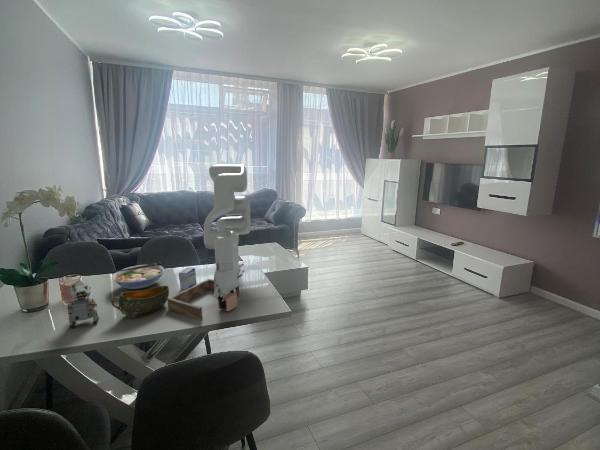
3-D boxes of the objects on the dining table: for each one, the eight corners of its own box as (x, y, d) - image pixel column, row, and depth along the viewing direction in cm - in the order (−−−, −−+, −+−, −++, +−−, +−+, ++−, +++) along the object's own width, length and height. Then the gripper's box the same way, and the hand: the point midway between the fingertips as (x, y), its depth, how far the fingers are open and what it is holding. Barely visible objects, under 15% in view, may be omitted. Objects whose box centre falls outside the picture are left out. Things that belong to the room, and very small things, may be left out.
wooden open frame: (209, 288, 155) (208, 278, 154) (239, 295, 147) (238, 285, 146) (168, 309, 134) (167, 298, 133) (200, 320, 126) (199, 308, 125)
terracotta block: (227, 302, 138) (226, 291, 137) (237, 305, 136) (236, 293, 134) (218, 308, 133) (217, 296, 132) (228, 311, 131) (227, 299, 130)
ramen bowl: (111, 301, 142) (109, 284, 140) (111, 283, 161) (109, 268, 159) (171, 289, 154) (169, 273, 152) (164, 274, 173) (162, 259, 171)
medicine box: (188, 290, 153) (186, 273, 151) (179, 289, 154) (178, 272, 152) (196, 283, 161) (195, 267, 159) (188, 282, 162) (187, 266, 160)
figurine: (101, 312, 132) (96, 278, 128) (96, 326, 121) (90, 290, 118) (75, 317, 128) (69, 282, 125) (67, 331, 118) (60, 294, 115)
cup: (120, 307, 136) (117, 285, 134) (170, 301, 142) (168, 280, 139) (112, 323, 124) (109, 299, 122) (168, 316, 130) (166, 293, 127)
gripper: (232, 257, 139) (234, 295, 143) (203, 270, 125) (206, 312, 129) (245, 260, 136) (247, 299, 140) (217, 273, 121) (220, 317, 125)
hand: (227, 305), depth 134 cm, fingers closed on terracotta block, 5 cm apart
